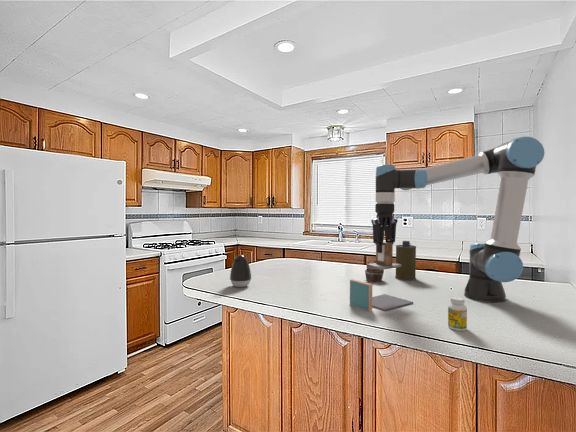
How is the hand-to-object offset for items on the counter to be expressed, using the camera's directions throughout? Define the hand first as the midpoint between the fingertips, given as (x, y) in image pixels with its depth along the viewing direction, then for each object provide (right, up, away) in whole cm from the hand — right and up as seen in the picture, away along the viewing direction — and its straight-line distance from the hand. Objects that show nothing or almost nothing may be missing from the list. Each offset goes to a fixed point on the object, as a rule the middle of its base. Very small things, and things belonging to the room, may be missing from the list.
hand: (384, 260), depth 136 cm
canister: (+24, -15, +42) cm, 50 cm away
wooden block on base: (0, -3, 0) cm, 3 cm away
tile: (-12, -17, -9) cm, 23 cm away
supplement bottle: (+15, -18, -30) cm, 38 cm away
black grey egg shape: (-62, -16, +24) cm, 69 cm away
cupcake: (+5, -16, +37) cm, 40 cm away
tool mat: (0, -17, -3) cm, 17 cm away
